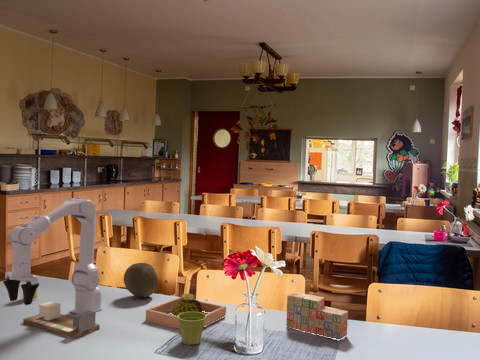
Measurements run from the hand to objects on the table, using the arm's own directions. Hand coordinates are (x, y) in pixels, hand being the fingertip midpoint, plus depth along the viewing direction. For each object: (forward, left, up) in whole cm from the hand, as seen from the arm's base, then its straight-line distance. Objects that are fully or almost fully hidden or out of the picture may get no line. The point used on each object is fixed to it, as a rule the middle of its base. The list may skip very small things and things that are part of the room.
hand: (20, 302), depth 158 cm
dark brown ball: (-55, +5, -10) cm, 56 cm away
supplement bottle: (-25, -30, -10) cm, 40 cm away
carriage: (-10, 0, -8) cm, 13 cm away
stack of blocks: (-58, +83, -10) cm, 102 cm away
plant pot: (-25, +52, -10) cm, 59 cm away
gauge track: (-11, +6, -10) cm, 16 cm away
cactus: (-43, +37, -10) cm, 58 cm away
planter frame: (-43, +37, -10) cm, 58 cm away
